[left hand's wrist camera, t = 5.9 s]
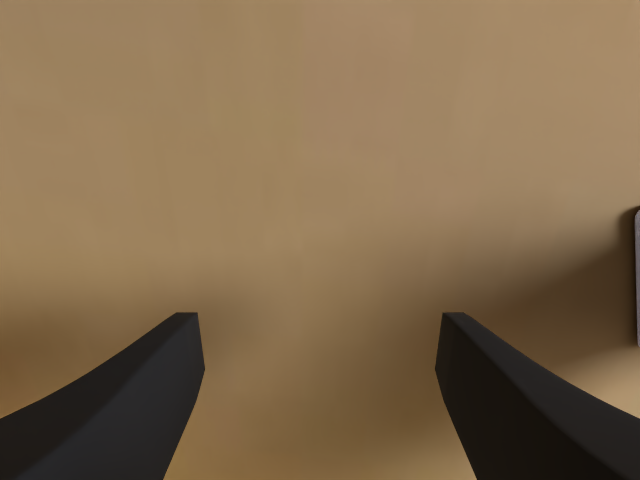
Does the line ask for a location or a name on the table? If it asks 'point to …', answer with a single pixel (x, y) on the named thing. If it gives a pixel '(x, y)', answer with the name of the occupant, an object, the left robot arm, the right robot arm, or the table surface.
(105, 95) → the table surface
